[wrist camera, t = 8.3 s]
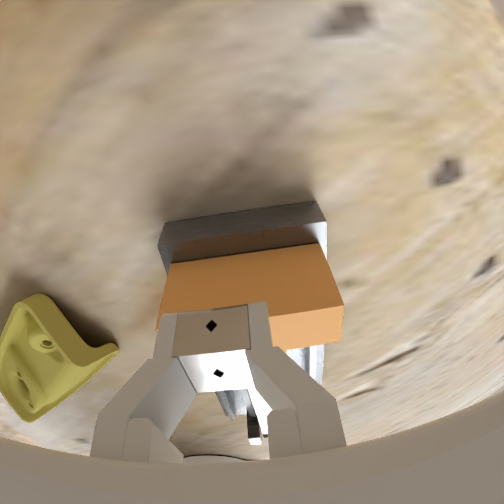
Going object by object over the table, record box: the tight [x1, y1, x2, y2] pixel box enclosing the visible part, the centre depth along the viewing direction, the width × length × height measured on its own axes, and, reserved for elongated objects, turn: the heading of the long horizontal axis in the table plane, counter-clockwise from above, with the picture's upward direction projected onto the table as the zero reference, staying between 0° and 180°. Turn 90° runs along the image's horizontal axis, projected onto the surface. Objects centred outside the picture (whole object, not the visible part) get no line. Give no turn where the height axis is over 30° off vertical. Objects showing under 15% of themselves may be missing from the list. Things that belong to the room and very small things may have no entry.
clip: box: [156, 243, 344, 354], centre depth 20 cm, size 6×10×6 cm, turn 98°
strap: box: [248, 388, 272, 438], centre depth 26 cm, size 14×2×1 cm, turn 7°
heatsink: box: [158, 201, 327, 445], centre depth 27 cm, size 24×11×8 cm, turn 8°
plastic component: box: [0, 293, 120, 423], centre depth 30 cm, size 20×7×10 cm
